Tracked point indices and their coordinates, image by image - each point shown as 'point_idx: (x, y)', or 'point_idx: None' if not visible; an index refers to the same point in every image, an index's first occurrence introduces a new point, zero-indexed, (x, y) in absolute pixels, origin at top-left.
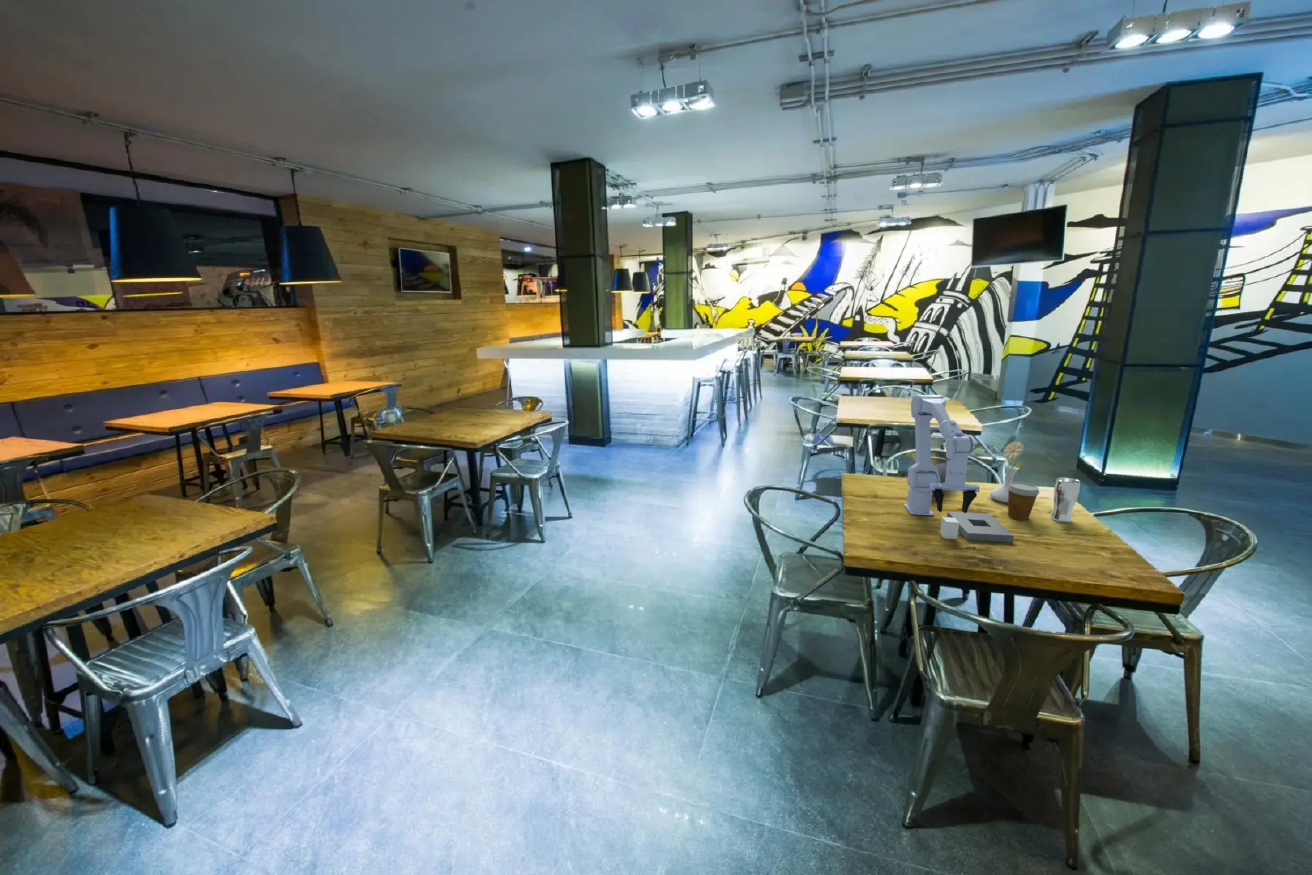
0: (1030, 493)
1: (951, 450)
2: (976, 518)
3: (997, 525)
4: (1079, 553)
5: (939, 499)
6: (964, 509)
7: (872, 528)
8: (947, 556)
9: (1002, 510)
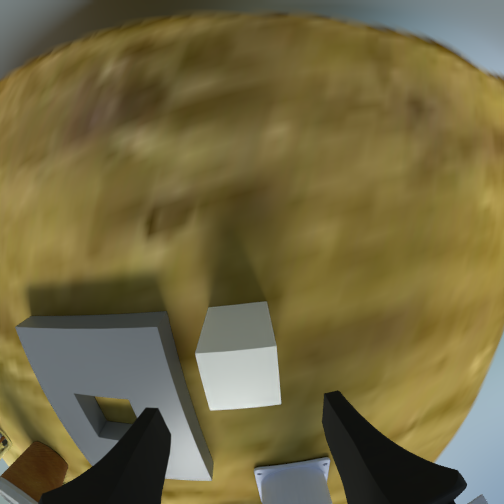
0: (1, 483)
1: None
2: None
3: (60, 402)
4: None
5: (402, 454)
6: (154, 429)
7: (485, 303)
8: (297, 96)
9: None
